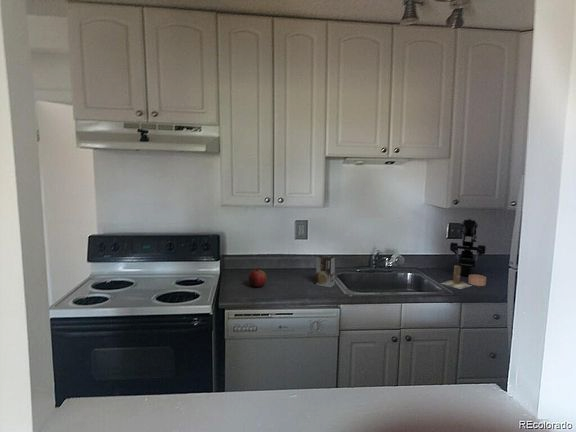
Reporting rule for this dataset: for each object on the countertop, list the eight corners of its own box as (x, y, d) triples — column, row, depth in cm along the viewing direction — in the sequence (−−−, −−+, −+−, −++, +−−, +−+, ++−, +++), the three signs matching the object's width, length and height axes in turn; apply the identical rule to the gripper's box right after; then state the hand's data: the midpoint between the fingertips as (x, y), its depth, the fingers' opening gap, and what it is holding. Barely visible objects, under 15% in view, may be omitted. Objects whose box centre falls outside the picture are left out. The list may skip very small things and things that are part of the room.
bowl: (465, 283, 225) (465, 275, 224) (473, 281, 230) (474, 273, 229) (480, 287, 217) (480, 279, 217) (488, 284, 222) (489, 277, 222)
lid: (443, 284, 219) (444, 266, 217) (447, 280, 228) (449, 262, 227) (465, 288, 212) (466, 269, 211) (469, 284, 222) (470, 265, 220)
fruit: (249, 283, 215) (249, 265, 214) (267, 283, 214) (267, 266, 213) (246, 289, 204) (246, 270, 203) (265, 289, 204) (265, 271, 202)
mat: (440, 284, 222) (440, 283, 222) (452, 281, 229) (452, 280, 228) (460, 289, 212) (460, 288, 212) (471, 286, 219) (472, 285, 219)
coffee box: (335, 284, 215) (336, 256, 213) (330, 287, 210) (331, 258, 208) (320, 282, 220) (321, 254, 218) (315, 285, 214) (316, 256, 212)
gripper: (451, 229, 228) (449, 251, 220) (486, 232, 220) (485, 255, 212) (451, 239, 236) (449, 261, 228) (485, 242, 228) (484, 265, 220)
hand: (466, 260), depth 222 cm, fingers open, 9 cm apart
